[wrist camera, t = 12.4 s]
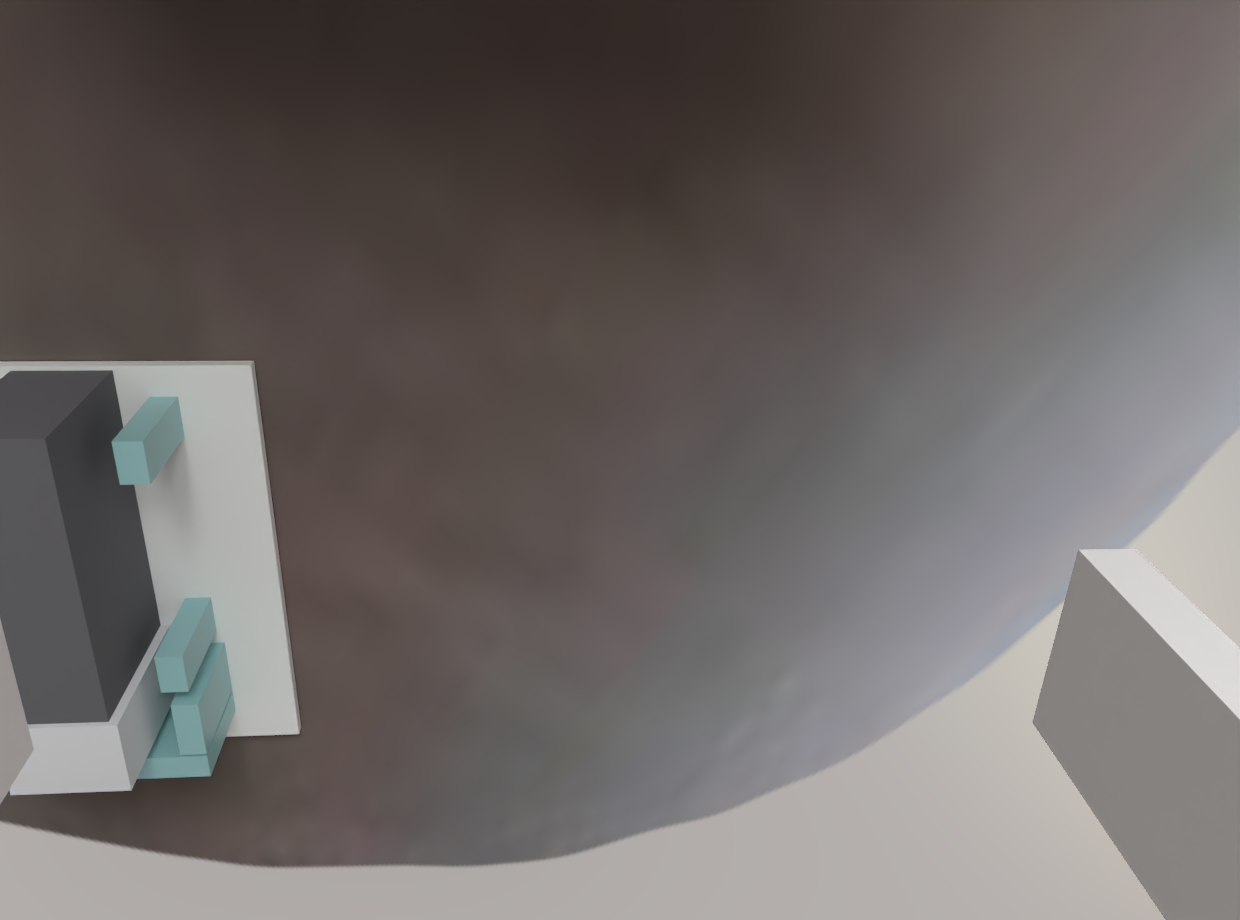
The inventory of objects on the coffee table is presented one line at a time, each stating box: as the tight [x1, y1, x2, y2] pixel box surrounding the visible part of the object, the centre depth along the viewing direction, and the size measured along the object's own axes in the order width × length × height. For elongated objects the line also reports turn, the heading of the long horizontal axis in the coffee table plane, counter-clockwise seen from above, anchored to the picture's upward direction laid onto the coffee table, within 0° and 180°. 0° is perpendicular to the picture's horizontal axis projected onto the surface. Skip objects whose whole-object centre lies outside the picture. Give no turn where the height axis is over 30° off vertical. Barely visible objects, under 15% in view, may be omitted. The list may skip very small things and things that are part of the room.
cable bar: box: [0, 370, 176, 795], centre depth 38 cm, size 14×4×6 cm, turn 178°
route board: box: [0, 361, 301, 779], centre depth 39 cm, size 17×13×4 cm
